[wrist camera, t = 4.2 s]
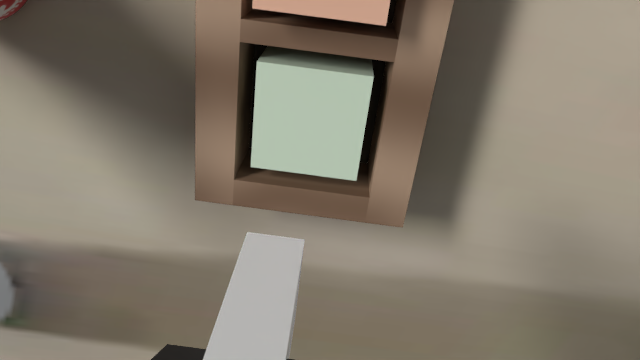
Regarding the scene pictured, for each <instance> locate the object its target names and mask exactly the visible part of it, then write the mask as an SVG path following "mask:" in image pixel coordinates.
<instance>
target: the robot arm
mask: <svg viewBox="0 0 640 360" xmlns="http://www.w3.org/2000/svg"><path fill="white" fill-rule="evenodd" d="M304 241H305V239H297V238H289V237H282V236H274V235H267V234H259V233H251V232H247V234H246V237H245V240H244V243H243V246H242V249H241V251H240V254H239V257H238V260H237V263H236V266H235V269H234V272H233V274H232V277H231V280H230V283H229V286H228V289H227V292H226V294H225V297H224V300H223V303H222V306H221V309H220V312H219V315H218V317H217V320H216V323H215V326H214V329H213V332H212V335H211V338H210V340H209V343H208V346H207V349H199V348H192V347H184V346H177V345H169V344H167V345H166V346H165V347H164V348H163V349H162V350H161V351H160V352H159V353H158V354H156V355H155V356H154V357H153V358H152V359H151V360H293V359H289V355H290V348H291V342H292V335H293V329H294V322H295V314H296V306H297V298H298V290H299V282H300V273H301V265H302V257H303V249H304Z"/></svg>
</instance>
